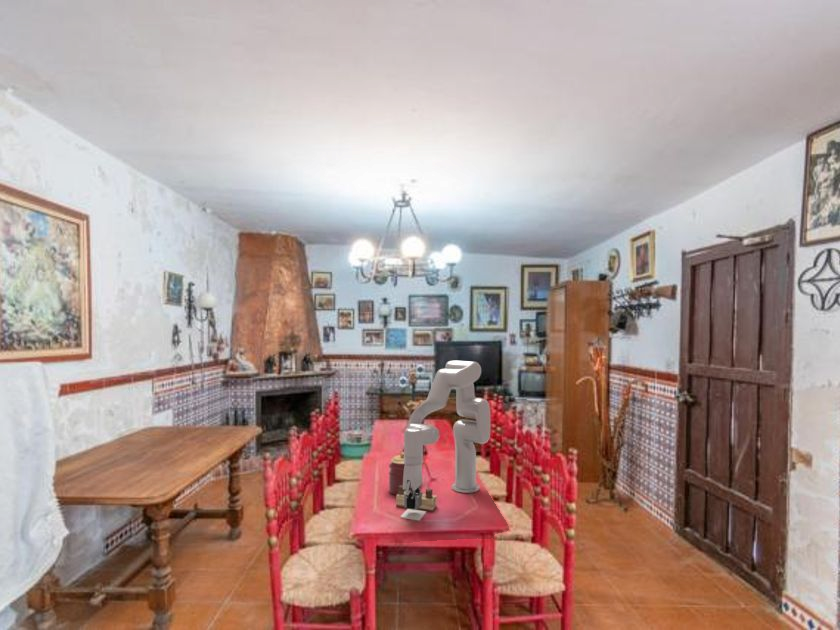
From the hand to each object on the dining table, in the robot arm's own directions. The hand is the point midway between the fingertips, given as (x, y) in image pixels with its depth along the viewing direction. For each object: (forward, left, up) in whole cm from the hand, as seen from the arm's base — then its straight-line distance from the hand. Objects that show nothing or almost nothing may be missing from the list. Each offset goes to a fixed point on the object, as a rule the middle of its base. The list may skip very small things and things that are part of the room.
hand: (413, 505), depth 185 cm
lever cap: (0, 0, 0) cm, 0 cm away
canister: (-24, -14, -4) cm, 28 cm away
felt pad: (0, 0, -4) cm, 4 cm away
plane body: (-9, -2, -4) cm, 10 cm away
